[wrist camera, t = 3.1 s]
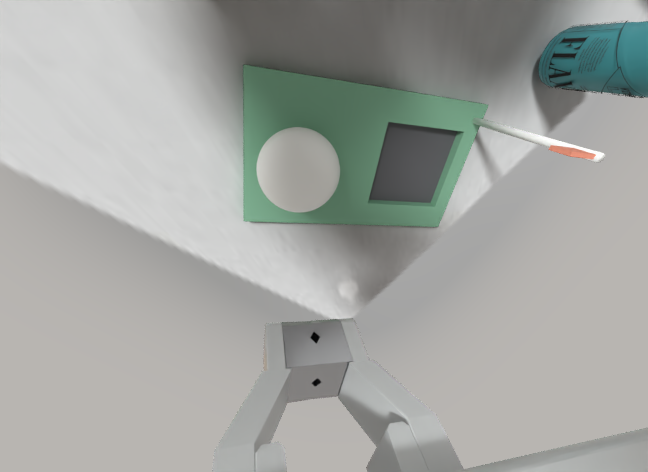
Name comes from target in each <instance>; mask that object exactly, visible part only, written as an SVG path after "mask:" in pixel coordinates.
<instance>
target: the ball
mask: <svg viewBox="0 0 648 472" xmlns="http://www.w3.org/2000/svg"><path fill="white" fill-rule="evenodd" d="M256 171H257V178H258V182H259V185H260V187H261V189H262V191H263V193H264V194H265V196H266V197H267V198H268V199H269V200H270V201H271V202H272V203H273V204H275V205H276V206H278V207H279V208H281V209H284V210H286V211H290V212H298V213H300V212H308V211H312V210H315V209H317V208H319V207H320V206H322V205H323V204H325V203H326V202H327V201H328V200H329V199H330V198H331V196H332V195H333V193H334V192H335V190H336V188H337V185H338V182H339V177H340V164H339V159H338V156H337V153H336V151H335V149H334V148H333V146H332V145H331V143H330V142H329V141H328V140H327V139H326V138H325V137H324V136H322V135H321V134H320V133H318V132H316V131H314V130H312V129H308V128H303V127H292V128H287V129H283V130H281V131H279V132H277V133H276V134H274V135H273V136H271V137H270V138H269V139H268V140H267V141H266V142H265V144H264V145H263V147H262V149H261V151H260V153H259V156H258V160H257V168H256Z"/></svg>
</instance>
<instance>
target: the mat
mask: <svg viewBox="0 0 648 472" xmlns="http://www.w3.org/2000/svg"><path fill="white" fill-rule="evenodd" d="M487 108H488V105H486V104H482V103H476V102H470V101H464V100H458V99H451V98H445V97H439V96H433V95H427V94H421V93H415V92H409V91H403V90H397V89H390V88H384V87H378V86H372V85H366V84H360V83H354V82H348V81H342V80H335V79H329V78H323V77H317V76H311V75H305V74H299V73H293V72H287V71H281V70H274V69H268V68H262V67H256V66H250V65H243V127H244V221H252V222H287V223H321V224H356V225H391V226H425V227H438V226H439V223H440V221H441V219H442V216H443V214H444V211H445V209H446V206H447V204H448V202H449V199H450V197H451V194H452V192H453V190H454V187H455V185H456V182H457V180H458V178H459V175H460V173H461V170H462V168H463V165H464V163H465V161H466V158H467V156H468V153H469V151H470V149H471V146H472V144H473V141H474V139H475V137H476V134H477V132H478V129H479V127H480V126H482V127H485V128H489V129H492V130H495V131H498V132H501V133H504V134H508V135H511V136H514V137H517V138H520V139H523V140H527V141H530V142H533V143H536V144H539V145H543V146H546V147H549V150H551V151H554V152H557V153H560V154H564V155H567V156H570V157H578V158H584V159H587V160H590V161H593V162H597V163H599V162H601V161H602V160H603V159H604V158H605V154H604V153H601V152H598V151H594V150H590V149H587V148H583V147H580V146H576V145H573V144H568V143H566V142H562V141H558V140H555V139H551V138H548V137H544V136H541V135H537V134H534V133H530V132H527V131H523V130H520V129H516V128H513V127H509V126H505V125H502V124H498V123H495V122H491V121H488V120H484V119H483V117H484V115H485V112H486V110H487ZM292 127H303V128H308V129H312V130H314V131H316V132H318V133H320V134H321V135H322V136H324V137H325V138H326V139H327V140H328V141H329V142H330V143H331V145H332V146H333V148H334V149H335V151H336V153H337V156H338V159H339V164H340V177H339V182H338V185H337V188H336V190H335V192H334V193H333V195H332V196H331V198H330V199H329V200H328V201H327V202H326V203H325V204H323V205H322V206H320V207H319V208H317V209H315V210H312V211H308V212H300V213H298V212H290V211H286V210H284V209H281V208H279V207H278V206H276V205H275V204H273V203H272V202H271V201H270V200H269V199H268V198H267V197H266V196H265V194H264V193H263V191H262V189H261V187H260V185H259V182H258V178H257V171H256V168H257V160H258V156H259V153H260V151H261V149H262V147H263V145H264V144H265V142H266V141H267V140H268V139H269V138H270V137H271V136H273V135H274V134H276V133H277V132H279V131H281V130H283V129H287V128H292Z"/></svg>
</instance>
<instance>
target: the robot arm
mask: <svg viewBox="0 0 648 472" xmlns="http://www.w3.org/2000/svg"><path fill="white" fill-rule="evenodd" d="M263 364H264V371H262V373H261V374H260V376H259V378H258V379H257V381H256V382H255V384H254V386H253V388H252V389H251V391H250V393H249V394H248V396H247V398H246V399H245V401H244V402H243V404H242V406H241V407H240V409H239V411H238V412H237V414H236V416H235V417H234V419H233V421H232V422H231V424H230V426H229V427H228V429H227V431H226V432H225V434H224V436H223V437H222V439H221V441H220V442H219V444H218V446H217V447H216V449H215V453H214V461H213V470H212V472H287V471H286V459H285V447H284V446H283V445H282V444H280V443H279V442H275V443H271V440H272V438H273V436H274V433H275V431H276V429H277V426H278V424H279V421H280V419H281V417H282V414H283V412H284V410H285V407H286V405H287V403H289V402H296V401H302V400H308V399H315V398H326V397H336V396H338V398H339V399H340V401H341V402H342V403H343V405H344V406H345V407H346V408H347V410H348V411H349V412H350V414H351V415H352V416H353V417H354V419H355V420H356V421H357V422H358V424H359V425H360V426H361V428H362V429H363V430H364V431H365V433H366V434H367V435H368V436H369V438H370V439H371V440H372V441H373V443H374V444H375V445H376V447H377V448H376V450H375V452H374V454H373V455H372V457H371V459H370V461H369V463H368V465H367V467H366V468H367V472H648V428H644V429H640V430H635V431H631V432H626V433H622V434H617V435H613V436H609V437H604V438H600V439H595V440H591V441H587V442H582V443H578V444H573V445H569V446H565V447H561V448H556V449H551V450H547V451H543V452H538V453H534V454H529V455H525V456H521V457H516V458H512V459H507V460H503V461H499V462H494V463H490V464H485V465H481V466H477V467H473V468H468V469H463V467H462V465H461V463H460V461H459V459H458V457H457V455H456V453H455V451H454V449H453V447H452V445H451V443H450V441H449V439H448V437H447V435H446V433H445V431H444V429H443V427H442V425H441V423H440V421H439V419H438V417H437V415H436V414H435V413H434V412H433V411H432V410H430V409H429V408H428V407H427V406H426V405H425V404H424V403H423V402H421V401H420V400H419V399H418V398H416V396H414V395H413V394H412V393H411V392H410V391H409V390H408V389H407V388H405V387H404V386H403V385H402V384H401V383H400V382H399V381H397V380H396V379H395V378H394V377H393V376H392V375H391V374H390V373H388V372H387V371H386V370H385V369H384V368H383V367H382V366H381V365H379V364H378V363H377V362H376V361H375V360H370V359H369V357H368V354H367V351H366V349H365V346H364V343H363V341H362V338H361V335H360V333H359V330H358V328H357V325H356V322H355V320H354V319H353V318H350V319H330V320H316V321H309V322H282V323H266V324H265V335H264V359H263Z"/></svg>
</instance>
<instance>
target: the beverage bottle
mask: <svg viewBox="0 0 648 472" xmlns="http://www.w3.org/2000/svg"><path fill="white" fill-rule="evenodd" d="M616 22H617V21H616ZM616 22H615V23H614V24H613V23H612V24H611V23H610V24H605V23H604V24H601V23H600V24H601V25H599V24H598V25H594V24H593V23H592V24H593V25H591V24H590V25H588V26H587V25H586V26H585V25H584V24H583V25H584V26H583V25H582V26H581V24H580V26H578V25H577V26H576V27H575V25H574V27H572V28H569V29H566V30H564V31H562V32H561V33H559V34H558V35H557V36H555V37H554V38H553V39H552V40H551V42H550V43H549V44H548V45H547V47H546V48H545V50H544V52H543V54H542V57H541V59H540V63H539V77H540V79H541V81H542V82H543V83H544V84H546V85H548V86H551V87H552V88H553V87H555V89H556V87H560V88H562V89H564V88H566V90H572V89H576V90H575V91H581V90H584V92H586V91H585V90H588V91H589V92H590V91H592V92H593V91H597V92H601V93H602V92H607V93H616V94H618V95H619V94H625V95H627V96H628V95H629V97H630V96H631V97H635V96H640V97H642V96H644V97H648V21H646V22H627V21H626V22H627V23H626V22H625V23H616ZM622 22H623V21H622ZM596 24H597V23H596ZM567 88H569V89H567ZM564 90H565V89H564ZM594 93H595V92H594ZM632 95H633V96H632ZM634 95H635V96H634ZM642 98H643V97H642Z"/></svg>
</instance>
